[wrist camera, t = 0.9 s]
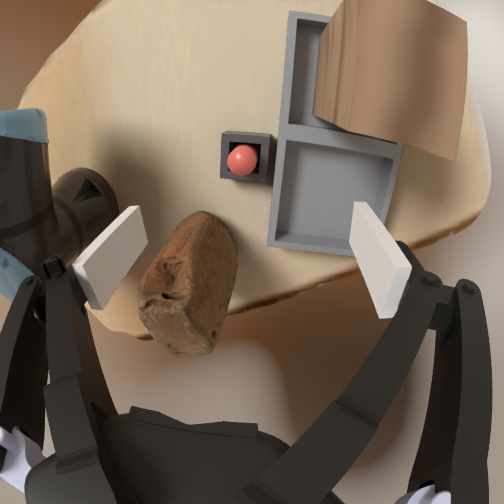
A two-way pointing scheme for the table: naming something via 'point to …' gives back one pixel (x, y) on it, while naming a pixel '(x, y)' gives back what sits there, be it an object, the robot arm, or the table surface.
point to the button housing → (245, 137)
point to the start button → (242, 159)
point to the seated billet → (394, 73)
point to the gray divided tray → (321, 159)
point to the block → (190, 286)
